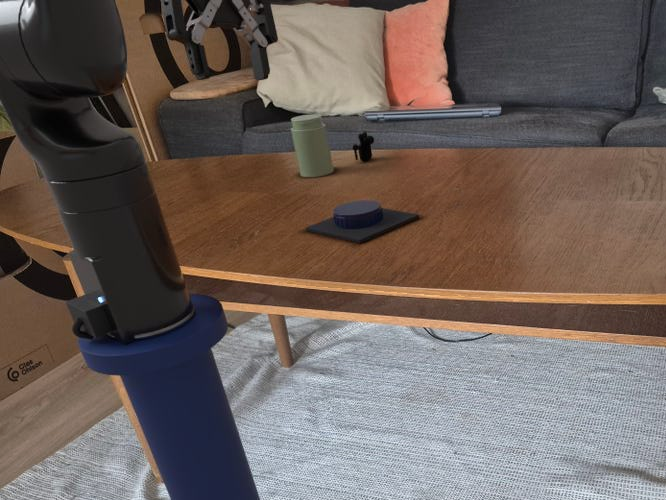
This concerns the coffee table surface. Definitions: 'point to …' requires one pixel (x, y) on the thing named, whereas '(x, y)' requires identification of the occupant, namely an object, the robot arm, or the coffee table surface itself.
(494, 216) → the coffee table surface
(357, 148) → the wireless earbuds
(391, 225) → the coaster
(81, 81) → the robot arm
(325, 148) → the jar
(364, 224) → the jar lid
